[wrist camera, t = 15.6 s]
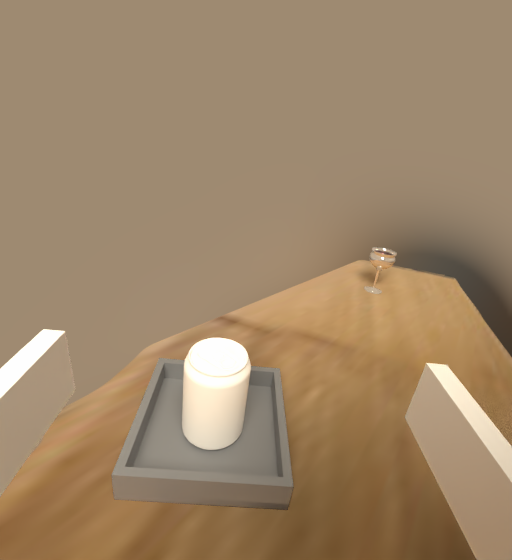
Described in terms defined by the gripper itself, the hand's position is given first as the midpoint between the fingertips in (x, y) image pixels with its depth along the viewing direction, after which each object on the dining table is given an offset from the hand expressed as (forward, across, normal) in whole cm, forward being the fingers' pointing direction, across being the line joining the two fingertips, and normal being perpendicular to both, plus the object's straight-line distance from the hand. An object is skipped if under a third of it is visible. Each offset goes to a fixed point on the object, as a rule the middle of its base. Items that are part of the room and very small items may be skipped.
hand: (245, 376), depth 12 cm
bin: (+22, -3, -30) cm, 37 cm away
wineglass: (+76, +37, -31) cm, 90 cm away
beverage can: (+22, -3, -29) cm, 36 cm away
